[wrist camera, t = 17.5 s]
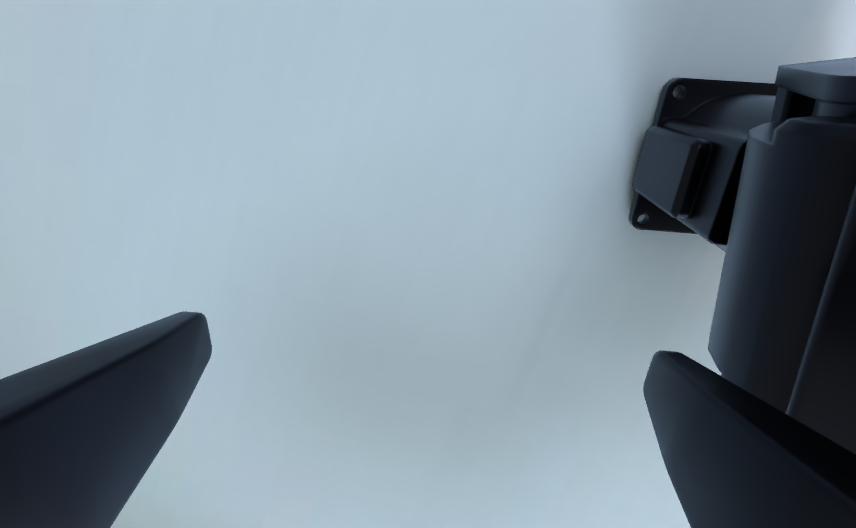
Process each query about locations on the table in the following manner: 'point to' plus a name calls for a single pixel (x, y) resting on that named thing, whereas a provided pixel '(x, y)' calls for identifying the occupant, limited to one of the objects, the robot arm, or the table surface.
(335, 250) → the table surface
